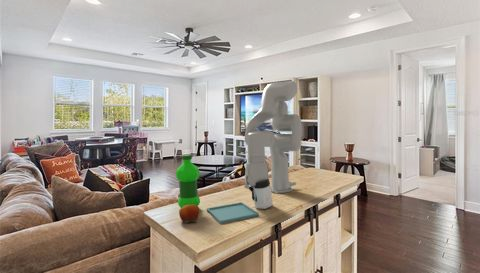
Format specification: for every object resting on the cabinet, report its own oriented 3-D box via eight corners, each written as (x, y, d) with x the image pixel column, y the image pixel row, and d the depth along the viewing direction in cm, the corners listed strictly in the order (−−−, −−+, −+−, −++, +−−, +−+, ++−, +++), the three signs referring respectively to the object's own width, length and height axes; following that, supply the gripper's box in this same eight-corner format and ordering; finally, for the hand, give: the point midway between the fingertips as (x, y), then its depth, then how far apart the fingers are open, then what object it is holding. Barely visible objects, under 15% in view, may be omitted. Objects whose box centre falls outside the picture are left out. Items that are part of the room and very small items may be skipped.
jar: (261, 211, 112) (257, 184, 111) (250, 206, 119) (246, 181, 118) (276, 204, 117) (273, 178, 116) (265, 199, 124) (262, 175, 123)
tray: (241, 204, 122) (241, 202, 122) (258, 216, 107) (258, 213, 107) (207, 211, 115) (206, 208, 115) (220, 224, 100) (219, 220, 100)
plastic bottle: (191, 214, 111) (188, 157, 110) (173, 211, 116) (170, 156, 115) (205, 207, 120) (202, 154, 119) (187, 205, 125) (185, 153, 124)
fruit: (182, 224, 97) (179, 203, 100) (179, 228, 103) (177, 208, 107) (203, 220, 100) (200, 200, 104) (199, 224, 107) (196, 205, 110)
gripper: (267, 157, 122) (269, 195, 123) (236, 160, 116) (238, 200, 117) (276, 159, 116) (277, 199, 117) (243, 162, 109) (245, 205, 110)
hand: (258, 199), depth 117 cm, fingers open, 2 cm apart
